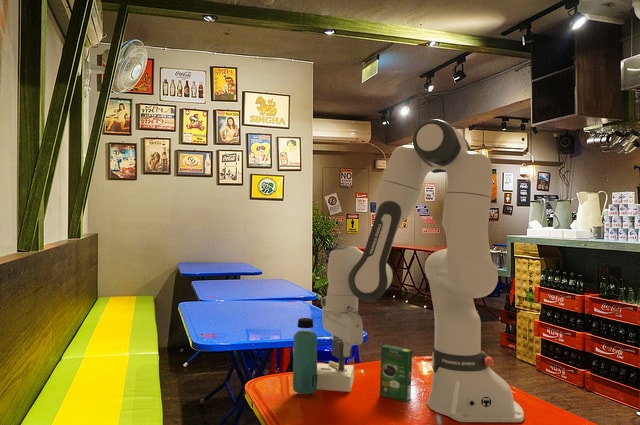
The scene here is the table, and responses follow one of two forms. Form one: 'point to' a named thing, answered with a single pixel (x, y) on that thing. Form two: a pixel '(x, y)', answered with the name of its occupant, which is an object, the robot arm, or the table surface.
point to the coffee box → (395, 373)
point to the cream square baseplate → (334, 377)
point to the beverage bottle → (305, 358)
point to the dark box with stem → (339, 353)
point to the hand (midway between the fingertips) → (341, 353)
